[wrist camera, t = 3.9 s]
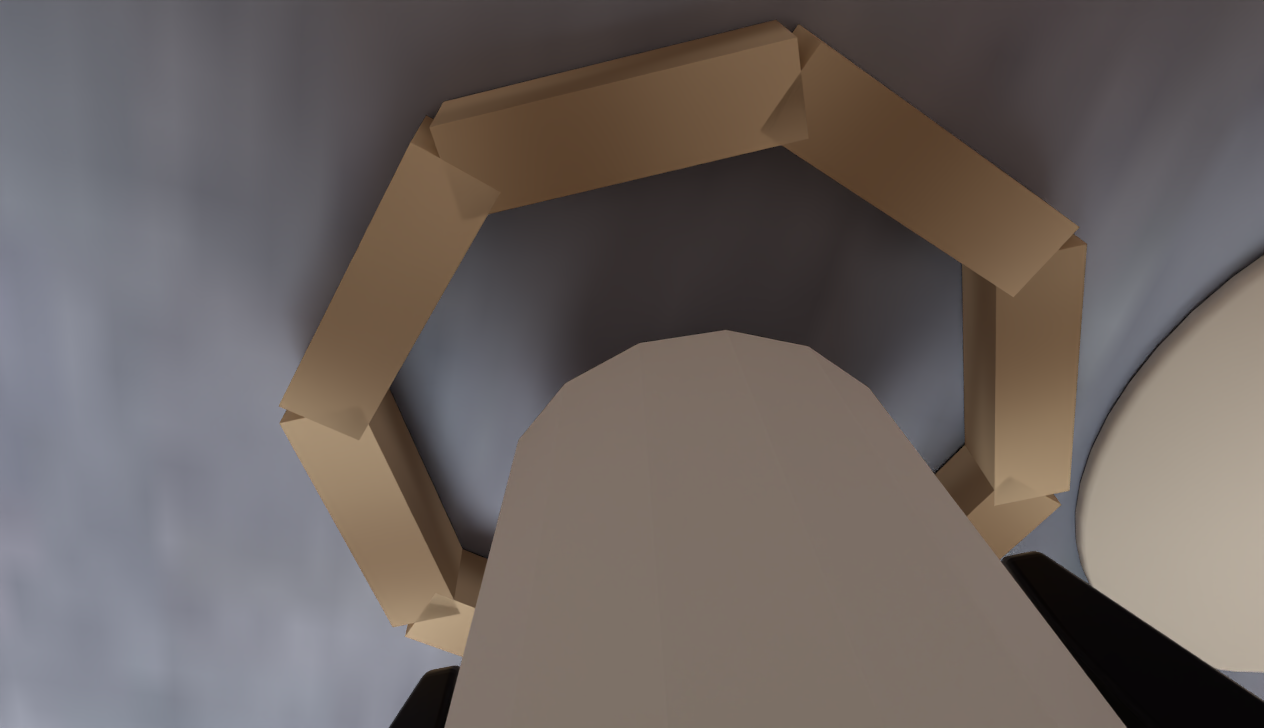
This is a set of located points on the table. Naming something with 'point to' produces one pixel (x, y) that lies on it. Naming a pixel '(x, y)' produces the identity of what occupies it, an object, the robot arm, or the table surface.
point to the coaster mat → (1188, 484)
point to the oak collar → (649, 145)
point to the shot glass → (746, 564)
